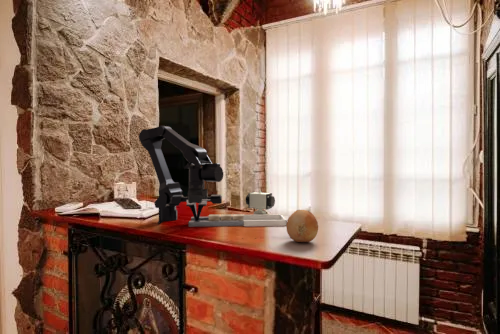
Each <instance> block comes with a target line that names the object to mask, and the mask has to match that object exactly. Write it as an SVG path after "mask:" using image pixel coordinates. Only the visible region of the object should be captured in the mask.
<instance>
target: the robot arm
mask: <svg viewBox="0 0 500 334" xmlns="http://www.w3.org/2000/svg"><path fill="white" fill-rule="evenodd" d="M138 140H139V142H140V143H141V146H142V147H143V148H144V149H145V150H146V151H147V152H148V154H149V157H150V160H151V162H152V165H153V168H154V172H155V174H156V176H157V179H158V184H159V188H158V197H157V198H156V200H155V201H154V203H153V204H154V208H156V209H158V221H157V224H162V223H163V222H172V221H177V220H178V209H177V206H179V205H180V204H181V203H186V204H185V205H186V207H189V209H190V210H191V212H192V214H193V215H192V216H193V217H194V218H195V221H198V220H199V217H201V214H202V211H203V208H204V207H206V206H207V204H208V203H209V202H210V203H211V204H213V205H221V204H222V203H223V201H222V200H223V196H222V194H211V195H210V196H208V189H206V188H205V182H213V183H214V182H215V183H220V182H222V180H223V178H224V169H223V167H221V163H220V162H215V163H213V162H212V161H211V158H210V157H209V156H208V155H209V154H208V153H207V150H206V149H205V148H204V147H201V146H199V145H197V144H194V143H191V142H190V141H188V140H187V139H186V138H184V137H183V136H182V135H180V133H179V134H178V132H176V131H175V130H174V129H172V127H171V126H169V125H168V126H167V125H166V126H165V125H159V126H157V127H153V128H147V129H146V128H144V129H141V131H140V132H139V134H138ZM163 140H167V141H168V142H169V143H170V144H172V145H173V146H174V147H175V148H177V149H178V150H179V151H180V152H181V153H182V156H183V157H184V158H185V160H186V161H187V164H186V165H184V167H183V168H184V170H185V169H186V170H187V169H188V191H187V196H184V195H183V190H182V189H181V184H180V182H175V181H174V180H173V179H172V175H171V173H170V170H169V168H168V165H167V162H166V159H165V157H164V154H163V151H162V143H163Z"/></svg>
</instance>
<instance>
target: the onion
mask: <svg viewBox="0 0 500 334" xmlns="http://www.w3.org/2000/svg"><path fill="white" fill-rule="evenodd" d="M286 220H287V225H286V226H285V227H286V232H287V235H288V236H289V237H290V239H291V240H293V241H294V242H295V243H310V242H312V241H313V240H315V238H316V237H317V236H318V235H317V234H318V232H319V223H318V222H319V221H318V219H317V218H316V216H315V214H314V213H312V212H311V211H310V210H307V209H297V210H295V211H294V212H292V213H291V214H290V215H289V216H288V218H287V219H286Z"/></svg>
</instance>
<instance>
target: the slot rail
mask: <svg viewBox="0 0 500 334" xmlns="http://www.w3.org/2000/svg"><path fill="white" fill-rule="evenodd" d="M243 226H244V220H233V215H231V220H221V215H220V220H209V216H200V217H199V220H198V221H195V218H194V216H191V218H190V220H189V221H188V227H190V228H192V227H199V228H200V227H243ZM244 227H245V226H244Z"/></svg>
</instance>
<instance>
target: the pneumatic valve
mask: <svg viewBox="0 0 500 334" xmlns="http://www.w3.org/2000/svg"><path fill="white" fill-rule="evenodd" d="M275 199H276V198H275V196H273V193H269V192H262V190H259V191H258V192H257V191H256V192H255V191H253V192H248V194H247V195H246V197H245V204H246V205H247V206H248V207H247V208H248V209H255V211H253V214H252V215H260V214H268V213H267V212H266V210H270V209H272V208H274V206H275V204H276V200H275Z"/></svg>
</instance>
